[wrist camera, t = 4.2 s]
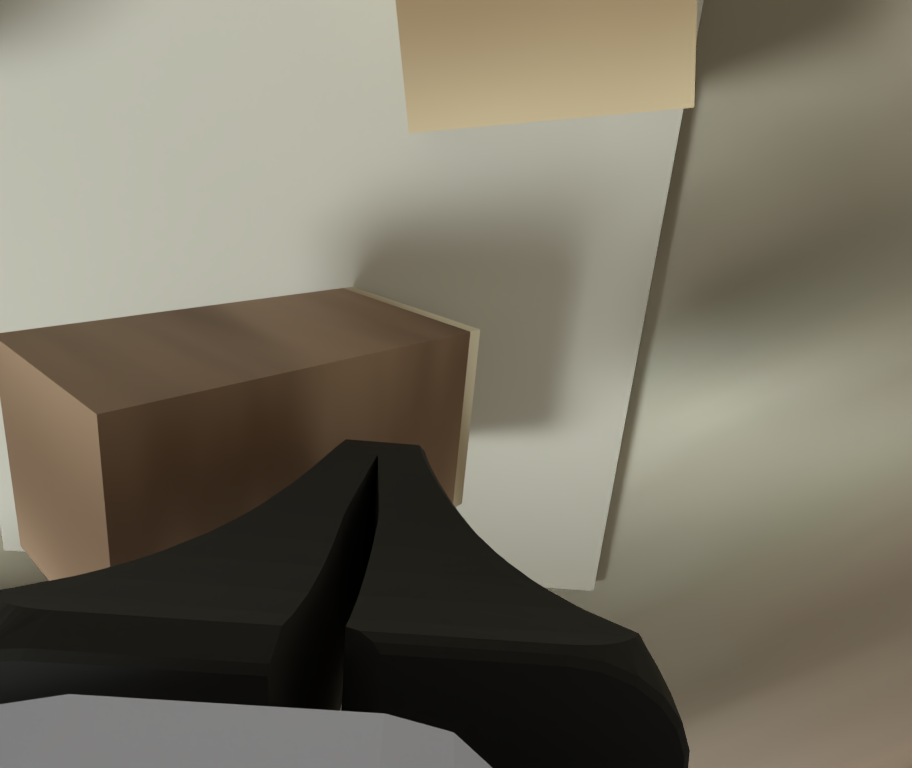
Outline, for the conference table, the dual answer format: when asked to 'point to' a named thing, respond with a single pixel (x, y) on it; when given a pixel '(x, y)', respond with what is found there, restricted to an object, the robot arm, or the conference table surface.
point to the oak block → (543, 59)
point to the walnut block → (216, 414)
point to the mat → (338, 222)
